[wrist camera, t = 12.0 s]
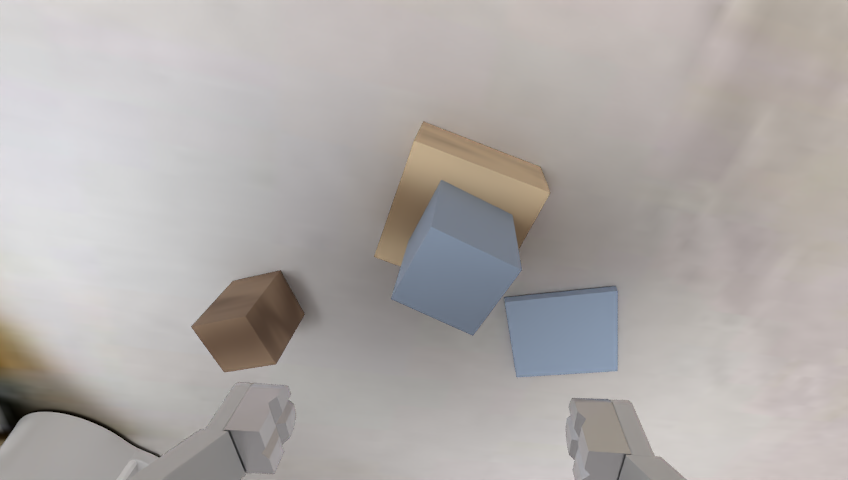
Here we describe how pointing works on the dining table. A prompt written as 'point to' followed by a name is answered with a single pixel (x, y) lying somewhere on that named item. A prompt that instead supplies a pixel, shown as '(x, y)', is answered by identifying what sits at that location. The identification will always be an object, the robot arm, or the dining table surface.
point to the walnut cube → (250, 322)
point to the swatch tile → (564, 332)
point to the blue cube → (458, 259)
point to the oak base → (460, 185)
